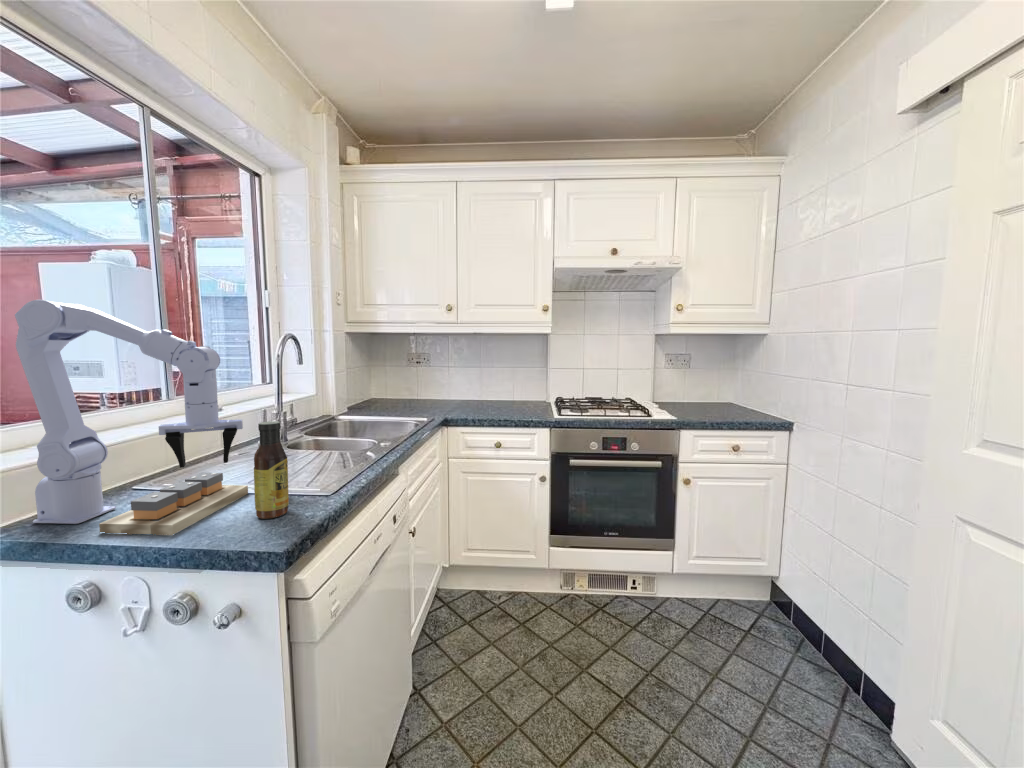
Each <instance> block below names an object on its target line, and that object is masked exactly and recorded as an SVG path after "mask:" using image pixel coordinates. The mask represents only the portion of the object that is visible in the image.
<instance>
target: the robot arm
mask: <svg viewBox="0 0 1024 768" xmlns="http://www.w3.org/2000/svg"><path fill="white" fill-rule="evenodd" d="M14 317H15V319H16V322H17V326H18V331H17V335H16V336H17V337H16V340H15V341H16V342H15V348H16V349H15V350H16V351H17V354H18V357H19V360H20V363H21V366H22V368H23V371H24V374H25V378H26V380H27V382H28V386H29V389H30V392H31V394H32V398H33V400H34V404H35V405H36V406H35V407H36V408H37V411H38V414H39V417H40V420H41V422H42V426H43V428H44V431H45V434H44V436H42V438H41V440H40V441H39V442H38V443H37V445H36V449H37V451H38V457H37V461H36V462H37V463H36V465H37V468H38V471H39V472H40V474H42V475H43V476H44V477H43V478H42V479H41V480H40V481H39V482H38V483H37V485H36V486H35V491H34V496H35V505H36V513H37V514H36V515H37V519H34V520H32V523H34V524H61V525H62V524H63V525H64V524H69V525H70V524H71V525H79V524H81V523H84V522H86V521H88V520H92V519H94V518H97V517H98V516H101V515H103V514H105V513H108V512H111V511H113V510H116V509H117V507H116V506H114V505H104V498H103V497H104V496H103V486H102V485H103V484H102V474H101V469H102V464H103V463H104V462H105V461H106V459H107V458H108V454H109V451H108V447H107V446H106V444H105V443H104V442H103V441H102V440H101V439H100V438H99V436H98V434H97V432H96V430H94V429H93V428H90V427H89V426H87V425H85V423H84V419H83V417H82V414H81V411H80V409H79V404H78V402H77V399H76V395H75V393H74V391H73V387H72V385H71V381H70V379H69V375H68V373H67V369H66V367H65V364H64V360H63V357H62V355H61V351H62V350H63V349H64V348H65V347H66V346H67V345H68V344H69V343H70V342H72V341H74V340H76V339H77V338H81V336H83V335H86V334H87V333H89V332H91V331H92V332H93V331H94V332H95V331H96V332H99V333H102V334H105V335H107V336H110V337H113V338H116V339H118V340H121V341H125V342H128V343H130V344H134V345H136V346H138V348H139V349H140V351H141V353H142V354H143V355H146V356H147V357H150V358H153V359H156V360H158V361H161V362H164V363H167V364H169V365H170V366H171V365H172V366H174V367H177V369H178V370H179V371H180V372H181V373H182V377H183V379H182V380H183V395H184V396H183V397H184V414H185V415H184V416H185V422H183V421H182V422H175V423H174V422H173V423H165V424H160V425H159V426H158V436H165V437H164V439H165V441H166V443H167V444H168V446H169V447H170V449H172V451H173V454H175V457H176V460H177V461H178V465H179V468H181V469H182V468H184V467H185V466H186V454H185V434H186V433H200V432H201V433H202V432H211V431H212V432H213V431H223V432H222V442H223V443H222V444H223V456H222V457H223V464H227V463H228V462H229V457H230V450H231V447H232V443H233V441H234V439H235V437H236V435H237V432H238V430H243V428H244V427H243V426H244V424H243V423H244V422H243V420H244V419H219V402H218V400H219V399H218V383H217V369H218V368H219V367H220V363H221V357H220V355H219V353H218V352H217V351H216V350H214V349H213V348H211V347H210V346H207V345H200V346H197V342H196V341H193V340H188V341H187V340H185V339H183V338H180V337H177V336H175V335H173V331H171V330H168V329H161V330H160V329H153V330H151V331H148V330H144V329H142V328H140V327H138V326H135V325H133V324H131V323H129V322H127V321H124V320H122V319H119V318H117V317H115V316H113V315H111V314H108V313H105V312H104V311H101V310H99V309H97V308H96V309H95V308H92V307H88V306H85V305H84V304H80V303H66V302H65V303H64V302H57V301H49V300H46V299H45V300H44V299H33V300H30V301H28V302H26V303H25V304H24V305H22V307H21V308H20V309H19V310H18V311H17V312H16V313H15V314H14Z"/></svg>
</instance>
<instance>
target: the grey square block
mask: <svg viewBox="0 0 1024 768" xmlns="http://www.w3.org/2000/svg"><path fill="white" fill-rule="evenodd" d="M177 501H178V495H177V493H174V492H160V491H153V492H151V493H147V494H145V495H143V496H140V497H137V498H136V499H135V498H134V499H133V500H131V501H130V510H133V512H134V519H152V520H160V519H162V518H161V517H163V516H165V515H167V514H169V513H171V512H173V511H175V510H177V508H178V507H177V506H176V502H177Z"/></svg>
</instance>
